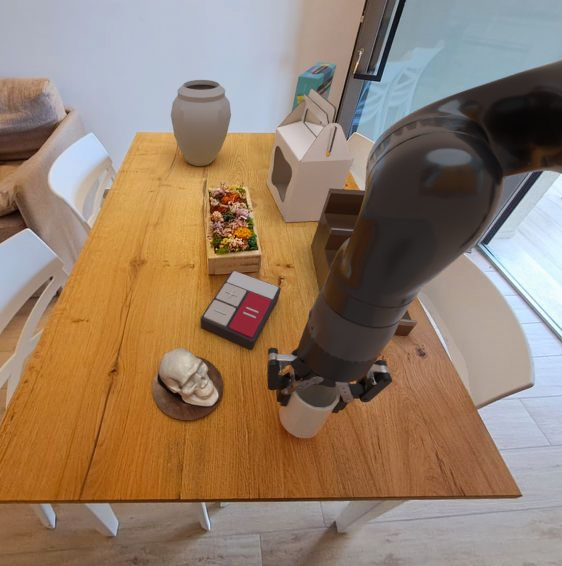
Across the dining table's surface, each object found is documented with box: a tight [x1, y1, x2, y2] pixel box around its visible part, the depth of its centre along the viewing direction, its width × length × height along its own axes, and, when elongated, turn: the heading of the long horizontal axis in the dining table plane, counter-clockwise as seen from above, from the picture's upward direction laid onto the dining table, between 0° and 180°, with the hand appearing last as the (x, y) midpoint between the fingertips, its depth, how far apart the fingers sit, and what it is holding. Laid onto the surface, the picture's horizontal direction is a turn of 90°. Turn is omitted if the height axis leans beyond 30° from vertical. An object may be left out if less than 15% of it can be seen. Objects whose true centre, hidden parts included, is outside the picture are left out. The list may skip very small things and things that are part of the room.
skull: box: [151, 347, 224, 421], centre depth 55 cm, size 12×10×10 cm
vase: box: [170, 79, 232, 167], centre depth 110 cm, size 20×20×24 cm
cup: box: [278, 385, 340, 439], centre depth 46 cm, size 6×6×9 cm
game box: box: [291, 61, 337, 125], centre depth 111 cm, size 20×6×27 cm, turn 148°
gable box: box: [266, 89, 355, 223], centre depth 89 cm, size 22×13×28 cm, turn 4°
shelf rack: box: [310, 188, 418, 337], centre depth 68 cm, size 26×15×16 cm, turn 171°
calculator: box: [200, 270, 282, 351], centre depth 67 cm, size 11×4×15 cm
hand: (307, 403), depth 46 cm, fingers closed on cup, 6 cm apart
